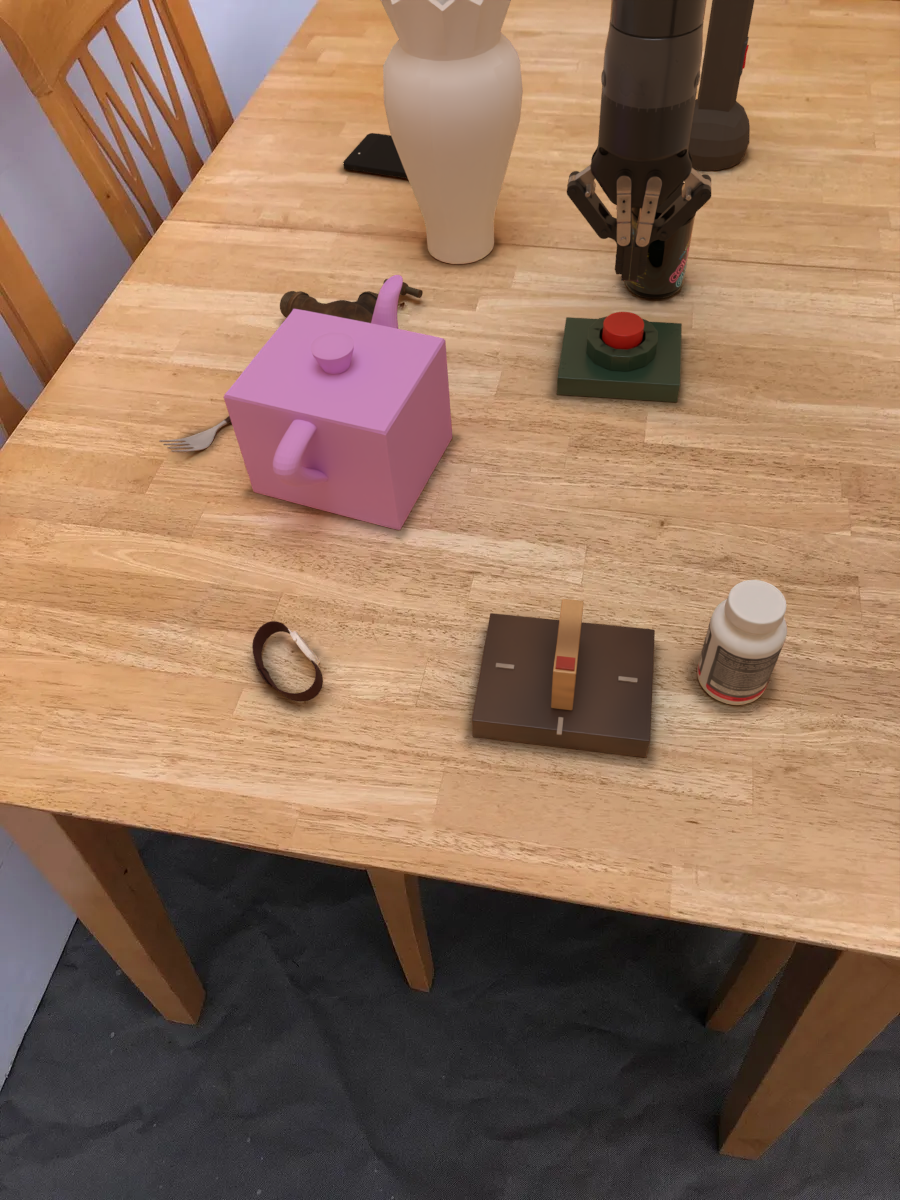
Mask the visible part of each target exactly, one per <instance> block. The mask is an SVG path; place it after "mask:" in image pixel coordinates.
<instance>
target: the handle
mask: <svg viewBox="0 0 900 1200" xmlns="http://www.w3.org/2000/svg"><path fill="white" fill-rule="evenodd" d="M584 603H585V601H584V600H579V599H569V598H562V599H561V604H560V612H559V619H558V620H559V628H558V636H557V644H556V652H555V660H554V668H553V681H552V698H551V708H555V709H564V710H573V701H574V692H575V683H576V673H577V664H578V655H579V645H580V635H581V625H582V622H583V615H584Z"/></svg>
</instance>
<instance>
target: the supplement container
mask: <svg viewBox="0 0 900 1200" xmlns="http://www.w3.org/2000/svg"><path fill="white" fill-rule="evenodd" d="M684 183H685V182H683V183H682V184H681V185H680V186H679V187H678V188H677V189H676V190H675V191H674V193H673V194H672V195H671V196H670V197H669V198H668V199H667V200H666V201H665V202H664V203H663V204H662V205H660V206H657V208H656V213H655V218H654V220H655V219H658V218H659V216H660V215H661V214H662V213H663V212H664V211H665V210H666V209H667V208H668V207H669V206H670V205H671V204H672V203H673V202H674V201H675V200H676V199H677V198H678V197H679V196H680V195H681V194H682V186H683V185H684ZM639 212H640V208H638V207H634V208H632V234H633V239H634V234H636V230H637V223H638V218H639ZM696 215H697V212H696V213H695V214H694V215H693V216H692V217H691V218H690V219H689V220H688V221H687V222H686V223H684V224H683V225H682V226H681V227H680V228H679V229H678V230H677V231H676V232H675V233H674V234H673V235H672V236H671V237H670V238H669V239H668V240H666V241H661V240H655V241H653V242H651V243H650V245H649V247H648V254H647V262H646V270H645V272H644V274H643V275H637V281H624V283H625V286H626V288H627V289H628V290H629V291H630V292H631V293H632V294H633V295H636V296H637V297H640V298H643V299H648V300H662V299H667V298H670V297H672V296H674V295H675V294H677V293H678V292H679V291H680V290H681V289H682V287H683V285H684V284H685V278H686V272H687V266H688V261H689V255H690V249H691V243H692V235H693V232H694V231H693V230H694V225H695V218H696ZM632 248H633V244H632ZM631 258H632V254H631ZM630 267H631V263H630ZM629 278H630V273H629Z"/></svg>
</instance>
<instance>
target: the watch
mask: <svg viewBox="0 0 900 1200" xmlns="http://www.w3.org/2000/svg"><path fill="white" fill-rule="evenodd" d="M279 632H280V633H282V632H283V633H286V634H289V635H290V637H291V639H292V641H293V642H294V643H295V644H296V645H297V647H298V648H299V649H300V651H301V652H302V653H303V654H304V656H305V657H306V658H307V659H308V660H309V661H310V662H311V664H312V666H313V668H314V670H315V671H314V672H315V676H314V681H313V683H312V684H311V686H310V687H309V688H307V689H306V690H304V691H300V692H295V693H294V692H288V691H284V690H282V689H280V688H278V686H277V684H276V683H275V682H274V680H273V679H272V677H271V675H270V672H269V670H268V669H267V668H266V667H265V665H264V661H263V656H262V655H263V649H264V647H265V643H266V642H267V640H268V639H269V638H270V637H271V636H272V635H274V634H276V633H279ZM251 647H252V655H253V659H254V663H255V666H256V670H257V671H258V672H259V674H260V676H261V678H262V679H263V681H264V682H265V683H266V684H268V685H269V687H271V688H272V687H273V688H274V689H275V690H276V691H277V692H278V693H279V694H281V695H282V696H283V697H285V698H286V699H288V700H290V701H294V702H300V703H301V702H309V701H311V700H313V699H314V698H316V697H317V696H318V695H319V694H320V692H321V690H322V689H323V685H324V678H323V673H322V671H321V667H320V665H319V664H320V663H321V660H320V658H319V657H318V656H317V655H316V653H315V652H314V651H313V650H312V648H311V647H310V645H309V644H308V643H307V642H306V641H305V639H303V637H302V636H301V635H300V634H299V633H298V632H297V631H296V630H293V631H292V630H291V629H290V628H289V627H288V626H286V625H285V624H284V623H282V622H281V621H278V620H271V621H267V622H265V623H263V624H262V625H261V626H260V627H258V629H257V631H256V632H255V634H254V637H253V639H252V645H251Z"/></svg>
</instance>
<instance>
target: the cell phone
mask: <svg viewBox="0 0 900 1200" xmlns="http://www.w3.org/2000/svg"><path fill="white" fill-rule="evenodd" d="M343 163H344V164H343ZM342 165H343V169H344V170H347V171H354V172H361V173H368V174H375V175H381V176H388V177H395V178H401V179H407V180H408V177H407V175H406V172H405V170H404V167H403V165H402V162H401V160H400V157H399V154H398V152H397V149H396V147H395V144H394V142H393V139H392V137H391V134H383V133H374V132H370V133H367V134H366V136H364V138H363V139H362V140H361V141H360V142H359V143H358V145H357V146H356V147H355V148H353V150H352V151H351V153H349V155H348V156H347V157H345V159H344V160H343V162H342Z"/></svg>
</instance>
